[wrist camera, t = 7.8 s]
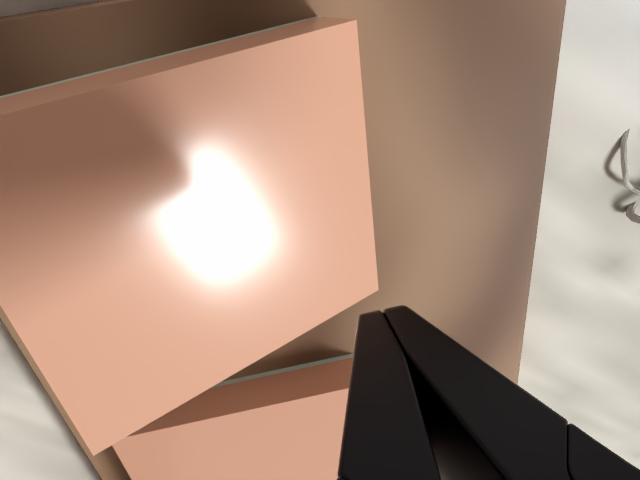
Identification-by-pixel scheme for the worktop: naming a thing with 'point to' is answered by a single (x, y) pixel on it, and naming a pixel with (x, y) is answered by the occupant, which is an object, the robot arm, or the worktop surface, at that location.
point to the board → (375, 146)
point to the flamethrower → (627, 184)
